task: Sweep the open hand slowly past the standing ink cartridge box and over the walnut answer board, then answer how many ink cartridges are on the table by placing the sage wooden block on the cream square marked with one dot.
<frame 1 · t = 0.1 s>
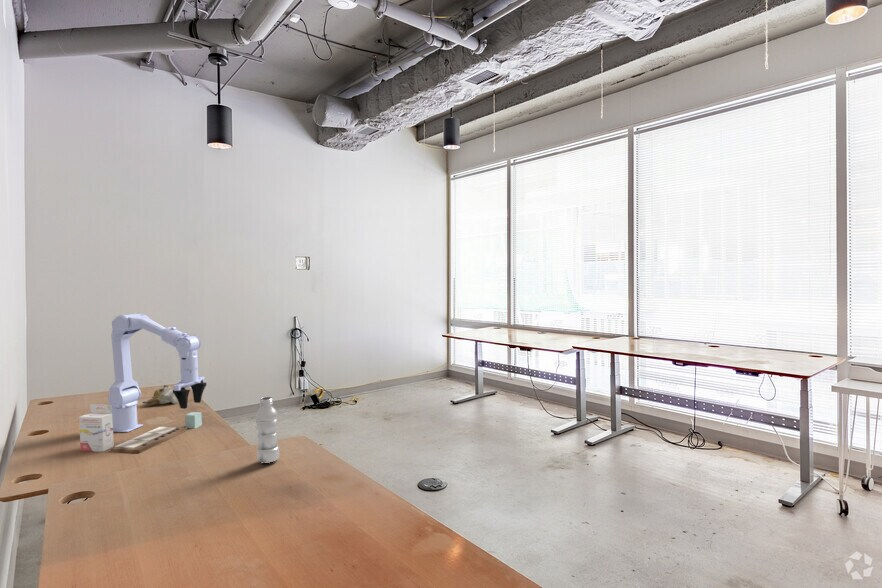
hand: (190, 405, 180), 10 cm above the table, fingers open, 7 cm apart
plastic bottle: (268, 462, 151), on the table
ink cartridge box: (97, 449, 165), on the table
answer board: (151, 440, 173), on the table
sage block: (193, 426, 188), on the table
ceramic sculpture: (164, 404, 221), on the table
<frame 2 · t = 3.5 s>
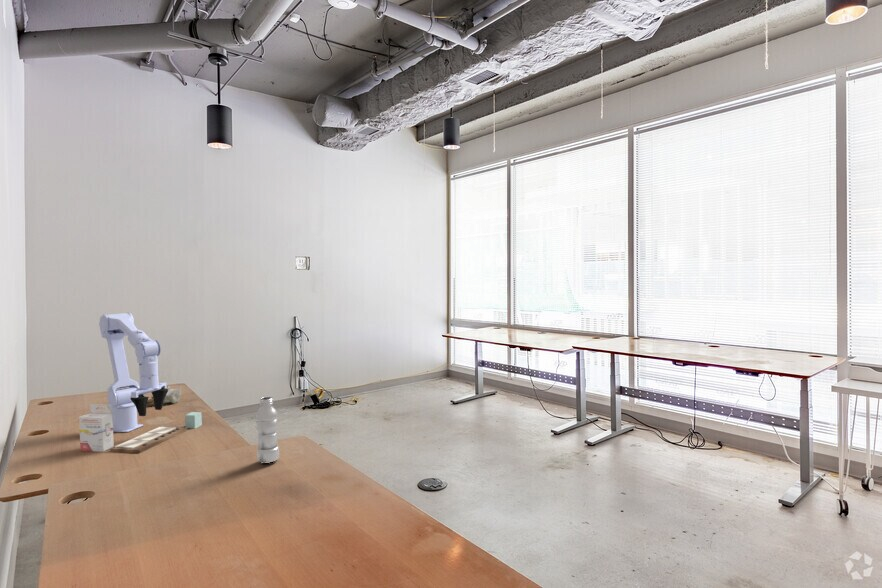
hand: (150, 412, 174), 9 cm above the table, fingers open, 7 cm apart
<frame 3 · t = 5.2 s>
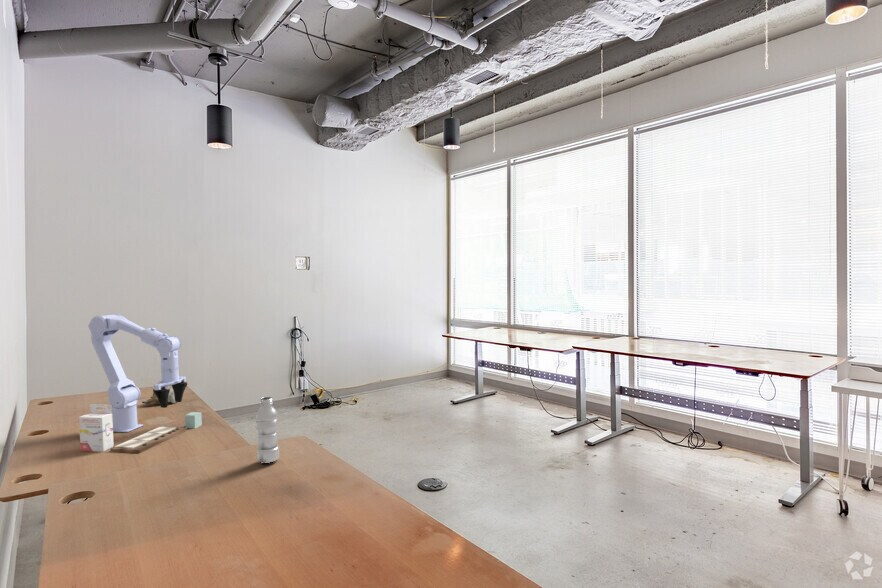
hand: (171, 404, 184), 9 cm above the table, fingers open, 7 cm apart
nothing on the table moved.
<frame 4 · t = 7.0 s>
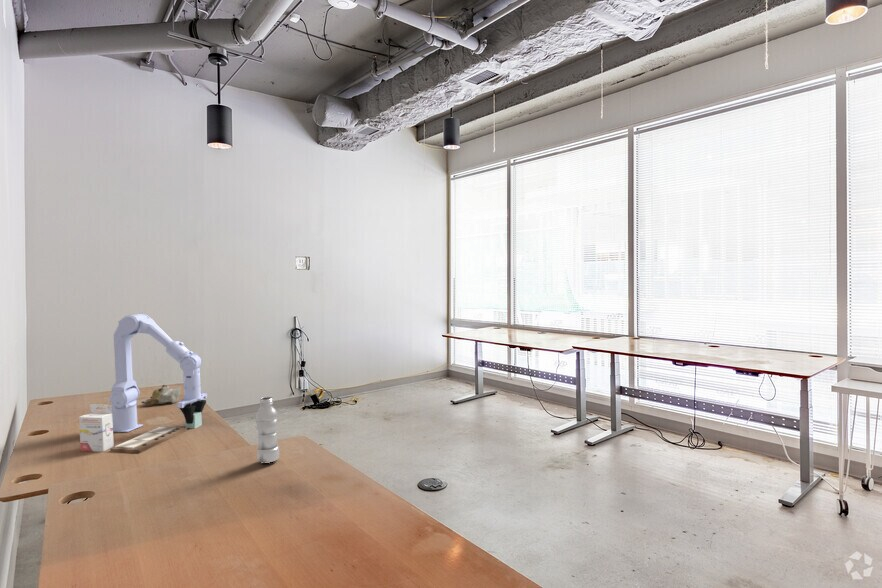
hand: (193, 421, 188), 2 cm above the table, fingers closed on sage block, 4 cm apart
sage block: (193, 426, 188), on the table, touching gripper
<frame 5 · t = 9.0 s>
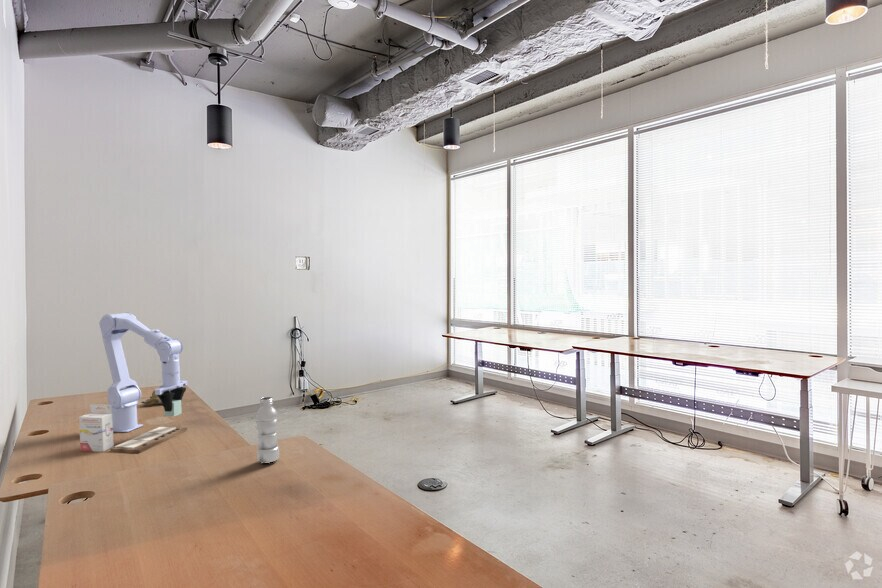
hand: (172, 409, 180), 9 cm above the table, fingers closed on sage block, 4 cm apart
sage block: (173, 414, 180), point 7 cm above the table, touching gripper
when the fingers open (4 cm above the table, at t = 11.2 s): sage block drops 1 cm, resting on answer board.
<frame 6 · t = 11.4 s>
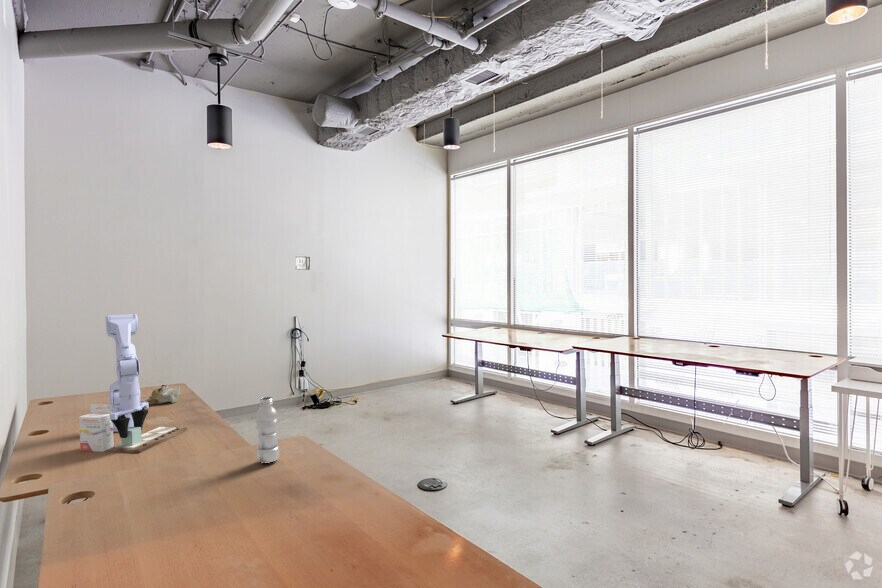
hand: (131, 434, 166), 4 cm above the table, fingers open, 6 cm apart
sage block: (131, 443, 166), point 1 cm above the table, touching answer board
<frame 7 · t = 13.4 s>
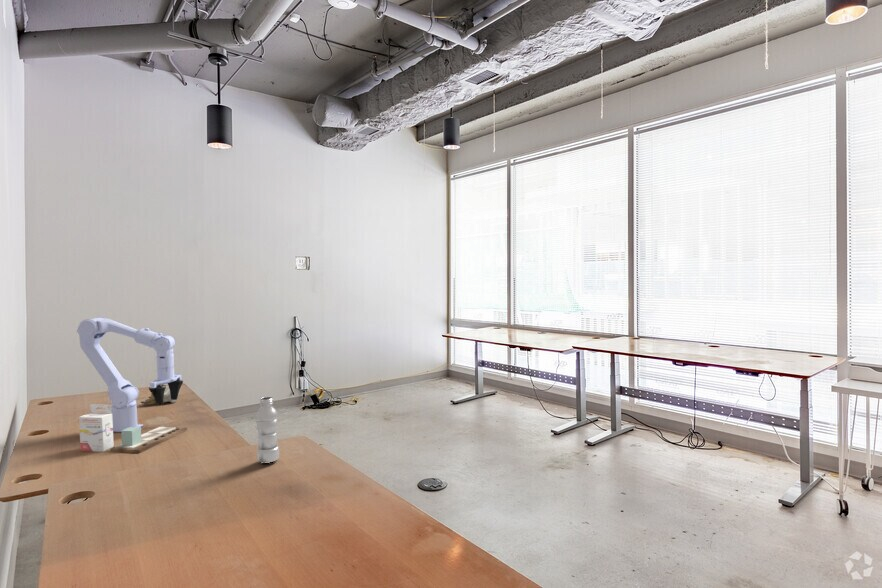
hand: (167, 402, 187), 9 cm above the table, fingers open, 7 cm apart
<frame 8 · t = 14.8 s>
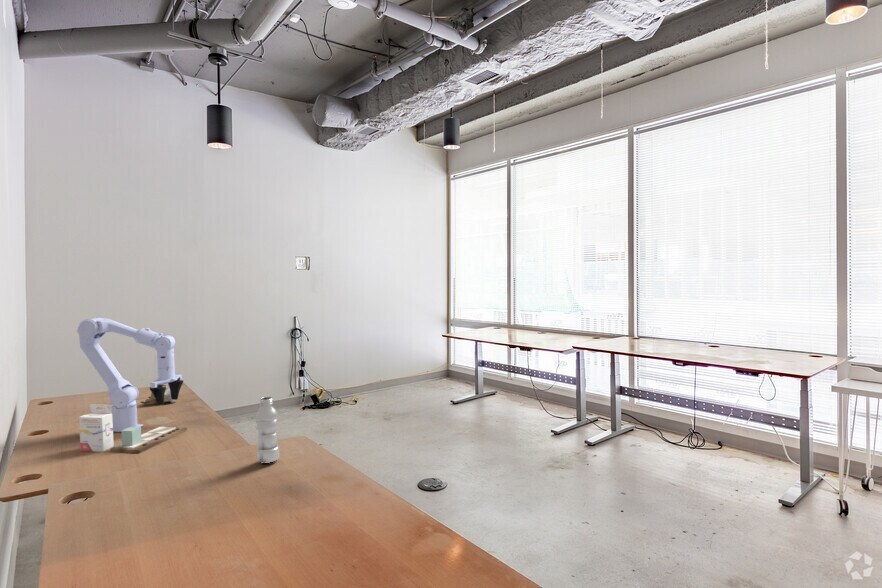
hand: (167, 402, 188), 9 cm above the table, fingers open, 7 cm apart
at the end: sage block 0.1 cm from the target spot on the answer board, point 1.3 cm above the answer board's base; sage block tilted 0°; ink cartridge box moved 0.2 cm from its start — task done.
